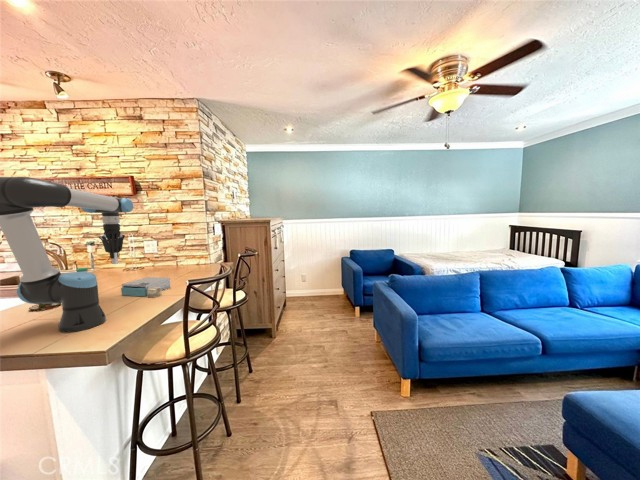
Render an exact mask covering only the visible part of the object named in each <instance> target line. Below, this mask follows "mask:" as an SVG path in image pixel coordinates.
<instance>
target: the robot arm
mask: <svg viewBox="0 0 640 480" xmlns="http://www.w3.org/2000/svg"><path fill="white" fill-rule="evenodd" d="M64 207H73V208H80V209H81V210H82V211H83V212H84V213H89V214H101V215H102V216H101V217H102V227H103V231H104V232H103V234H102V235H100V236H99V240H100V241H101V243H102V245H103V246H102V247H103V248H104V251H105V253H108V254H109V259H110V260H111V264H112V265H117V264H119V259H118V258H119V253H120V252H121V251H122V250H123V244H124V238H126V237H125V236H126V235H125V234H122V233H121V231H120V230H121V225H120V223H121V222H120V213H131V212H132V211H133V209H134V202H133V201H132V199H130V198H126V197H125V198H124V197H122V198H120V197H119V198H118V197H116V196H109V195H104V194H98V193H92V192H89V191H83V190H79V189H74V188H69V187H68V185H65V184H61V183H57V182H53V181H49V180H48V181H47V180H45V179H39V178H36V177H29V176H0V230H1V231H2V234H3V235H4V238H5V239H6V242H7V244H8V246H9V248H10V251H11V252H12V255H13V257H14V258H15V261H16V263H17V264H18V265H17V266H18V267H19V269H20V271H21V273H22V276H21V277H20V278H19V284H18V285H17V288H16V294H17V296H18V298H19V300H20V301H22V302H24V303H26V304H31V305H32V304H34V305H38V304H51V303H61V304H62V305H61V308H62V313H61V317H60V319H59V322H58V325H57V326H58V331H59V332H60V333H74V332H80V331H86V330H89V329H91V328H95V327H97V326H99V325H101V324H103V323H105V322H106V321H107V319H106V318H107V317H106V314H105V312H104V311H103V309H102V307H101V305H100V299H99V298H100V297H99V286H98V280H97V276H96V275H95V273H93V272H88V271H87V272H77V271H75V272H74V271H73V272H66V273H63V274H62V273H61V271H60V269H59V268H56V267H54V266H53V265H52V263H51V260H50V258H49V256H48V253H47V251H46V248H45V247H44V244H43V242H42V239H41V237H40V235H39V233H38V230H37V228H36V226H35V223H34V221H33V219H32V217H31V214H32V213H33V212H34V208H35V209H36V208H64Z"/></svg>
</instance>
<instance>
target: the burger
mask: <svg viewBox="0 0 640 480" xmlns="http://www.w3.org/2000/svg"><path fill="white" fill-rule="evenodd" d="M59 307H62V303H51V304H34V305H32V306H30V307H29V308H28V309H29V310H30V312H31V313H32V312H34V313H35V312H36V311H38V312H44V311H45V310H46V311H47V310H53V309H54V308H59Z"/></svg>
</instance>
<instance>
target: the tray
mask: <svg viewBox="0 0 640 480" xmlns="http://www.w3.org/2000/svg"><path fill="white" fill-rule="evenodd" d="M120 289H121V290H120V292H121V296H130V297H144V298H145V297H147V296H146V290H145V288H126V287H122V286H121V288H120Z"/></svg>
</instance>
